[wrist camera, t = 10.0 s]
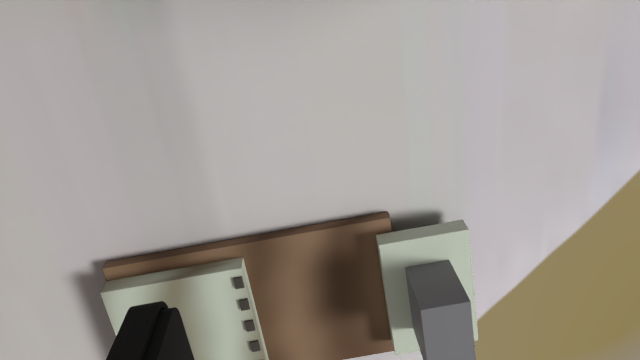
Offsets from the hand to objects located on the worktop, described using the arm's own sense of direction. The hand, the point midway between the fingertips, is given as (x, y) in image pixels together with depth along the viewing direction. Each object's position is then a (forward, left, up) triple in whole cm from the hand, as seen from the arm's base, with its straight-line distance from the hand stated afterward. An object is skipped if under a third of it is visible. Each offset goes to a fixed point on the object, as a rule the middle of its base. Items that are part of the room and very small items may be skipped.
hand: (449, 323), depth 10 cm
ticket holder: (+8, +17, -28) cm, 34 cm away
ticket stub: (-4, +17, -27) cm, 32 cm away
